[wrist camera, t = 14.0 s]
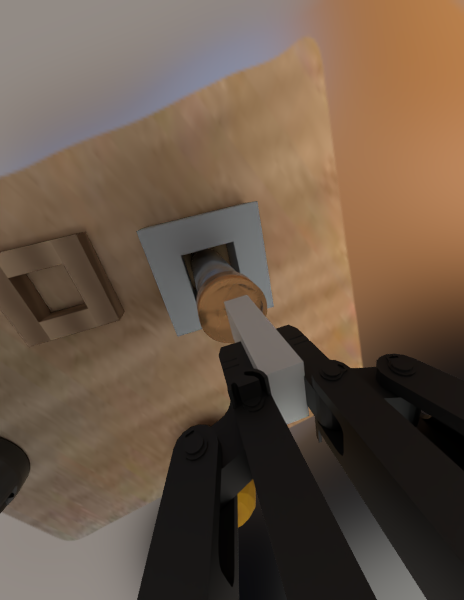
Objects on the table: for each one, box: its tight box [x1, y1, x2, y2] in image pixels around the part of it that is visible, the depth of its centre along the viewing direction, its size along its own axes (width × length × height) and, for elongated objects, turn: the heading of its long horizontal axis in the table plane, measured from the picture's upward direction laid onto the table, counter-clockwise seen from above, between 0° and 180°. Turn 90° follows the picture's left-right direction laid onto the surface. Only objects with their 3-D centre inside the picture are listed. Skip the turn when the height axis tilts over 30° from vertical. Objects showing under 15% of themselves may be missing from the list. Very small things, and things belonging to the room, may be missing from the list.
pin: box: [191, 248, 267, 343], centre depth 21 cm, size 5×5×15 cm
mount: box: [0, 232, 124, 347], centre depth 24 cm, size 10×10×2 cm
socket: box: [136, 201, 274, 336], centre depth 25 cm, size 12×12×5 cm
